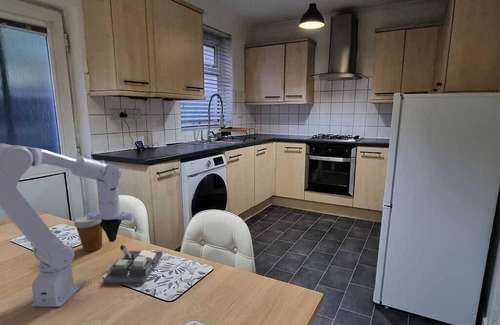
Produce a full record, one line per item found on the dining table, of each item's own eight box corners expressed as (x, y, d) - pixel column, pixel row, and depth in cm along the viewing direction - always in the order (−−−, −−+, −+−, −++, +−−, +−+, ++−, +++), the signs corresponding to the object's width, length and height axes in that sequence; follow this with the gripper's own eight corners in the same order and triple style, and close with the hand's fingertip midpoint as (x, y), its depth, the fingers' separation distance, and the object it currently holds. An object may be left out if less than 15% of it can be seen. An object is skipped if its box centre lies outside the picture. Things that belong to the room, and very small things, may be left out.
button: (124, 270, 90) (124, 264, 90) (115, 270, 90) (114, 264, 90) (128, 265, 93) (128, 259, 93) (119, 265, 93) (119, 259, 93)
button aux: (143, 267, 90) (142, 261, 90) (133, 267, 90) (133, 261, 90) (146, 262, 93) (146, 256, 93) (137, 262, 93) (137, 256, 93)
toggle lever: (131, 258, 97) (122, 245, 96) (127, 260, 97) (118, 247, 96) (133, 256, 99) (124, 243, 98) (129, 258, 99) (120, 245, 98)
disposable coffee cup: (89, 255, 103) (84, 224, 101) (72, 251, 107) (67, 220, 105) (112, 244, 111) (108, 215, 109) (96, 240, 116) (92, 212, 113)
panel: (143, 284, 86) (143, 274, 86) (103, 284, 86) (102, 274, 86) (162, 255, 104) (162, 246, 103) (129, 254, 104) (128, 246, 104)
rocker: (152, 260, 96) (152, 258, 96) (138, 257, 96) (138, 254, 96) (155, 255, 99) (156, 253, 99) (142, 251, 99) (142, 249, 99)
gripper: (136, 197, 96) (139, 235, 98) (94, 196, 96) (97, 235, 98) (127, 204, 89) (130, 245, 91) (81, 203, 89) (85, 244, 92)
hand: (112, 240), depth 94 cm, fingers closed
